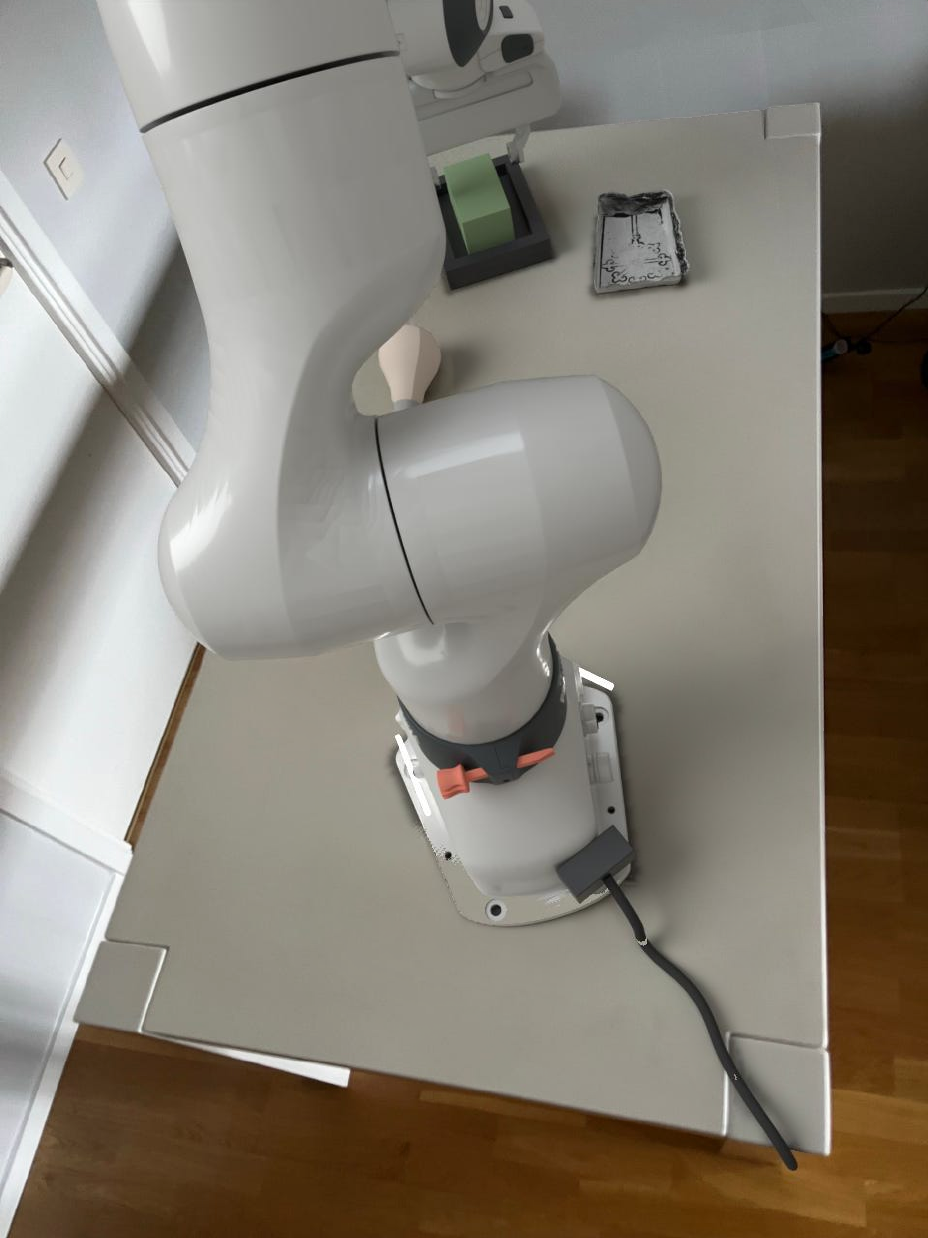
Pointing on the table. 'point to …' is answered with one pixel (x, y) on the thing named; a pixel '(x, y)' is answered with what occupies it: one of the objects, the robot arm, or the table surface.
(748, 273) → the table surface
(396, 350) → the light bulb
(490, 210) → the green block
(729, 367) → the table surface
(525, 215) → the black square tray
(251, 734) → the table surface
